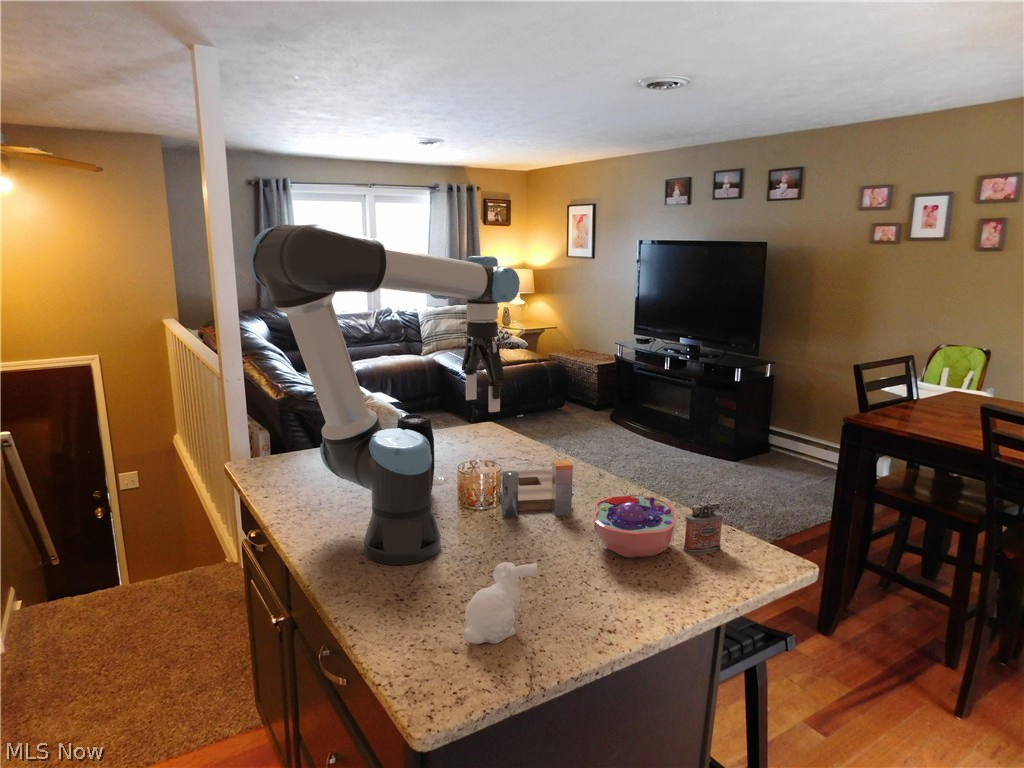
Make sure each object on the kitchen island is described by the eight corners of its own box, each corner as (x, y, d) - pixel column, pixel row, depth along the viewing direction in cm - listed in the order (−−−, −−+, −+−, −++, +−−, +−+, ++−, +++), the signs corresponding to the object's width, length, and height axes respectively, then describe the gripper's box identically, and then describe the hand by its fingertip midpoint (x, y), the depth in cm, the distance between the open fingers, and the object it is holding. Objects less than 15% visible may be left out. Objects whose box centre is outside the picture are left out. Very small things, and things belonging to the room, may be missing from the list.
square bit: (571, 515, 143) (572, 465, 140) (554, 515, 142) (556, 465, 139) (566, 508, 146) (568, 459, 144) (551, 509, 146) (552, 460, 143)
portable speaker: (441, 495, 153) (440, 418, 149) (408, 504, 147) (407, 424, 143) (421, 485, 159) (420, 410, 155) (389, 493, 153) (387, 417, 149)
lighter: (688, 555, 124) (692, 508, 122) (679, 548, 127) (683, 502, 125) (724, 551, 126) (728, 504, 124) (714, 543, 129) (718, 498, 127)
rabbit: (497, 606, 105) (498, 540, 103) (543, 626, 100) (546, 557, 97) (449, 641, 96) (449, 569, 93) (498, 665, 90) (499, 590, 88)
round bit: (519, 517, 141) (519, 475, 139) (503, 518, 140) (503, 476, 138) (516, 511, 144) (517, 470, 142) (500, 512, 143) (501, 470, 141)
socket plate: (571, 507, 146) (571, 497, 146) (504, 511, 144) (504, 501, 143) (551, 478, 166) (552, 469, 165) (492, 480, 163) (492, 471, 163)
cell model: (687, 540, 131) (691, 489, 128) (658, 582, 114) (662, 525, 111) (612, 522, 139) (614, 474, 137) (573, 558, 122) (576, 504, 120)
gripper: (520, 325, 143) (519, 415, 147) (475, 315, 164) (475, 393, 169) (490, 327, 139) (490, 418, 144) (448, 316, 161) (449, 396, 165)
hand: (482, 405), depth 156 cm, fingers open, 13 cm apart
